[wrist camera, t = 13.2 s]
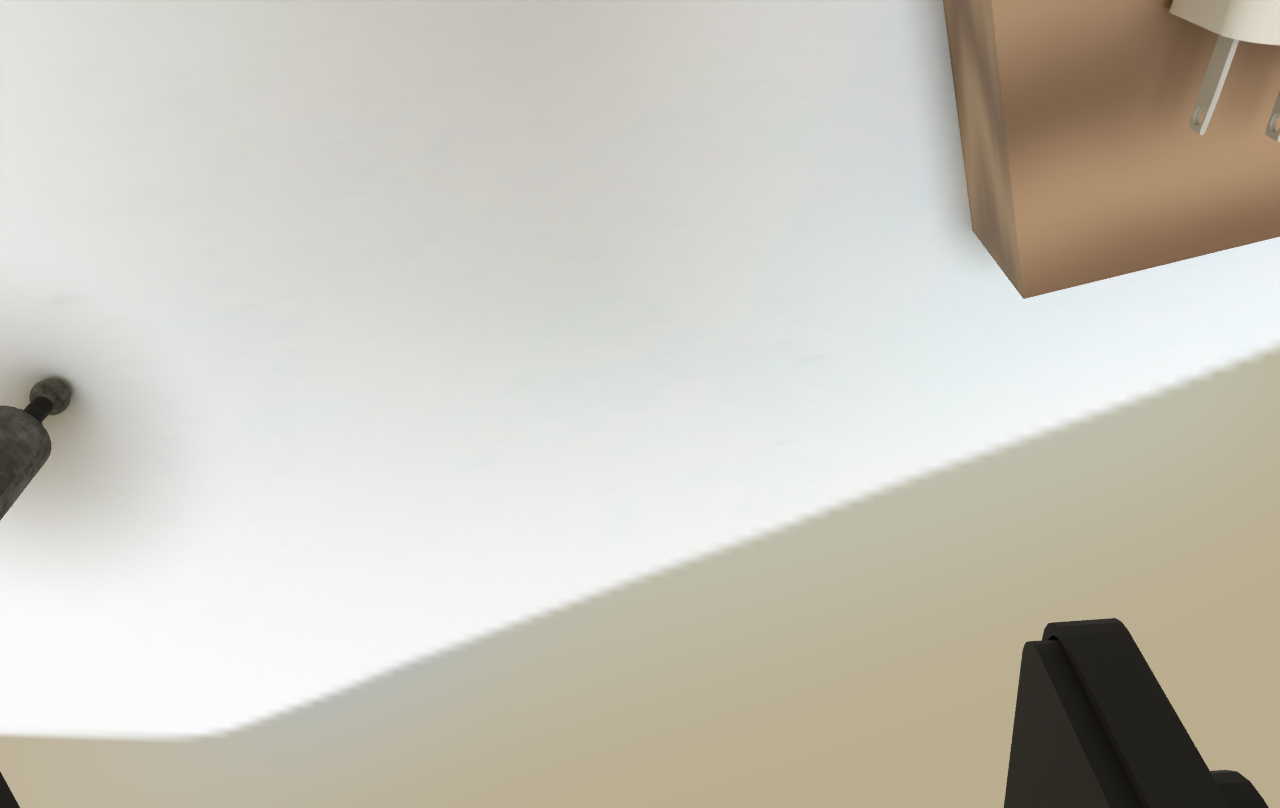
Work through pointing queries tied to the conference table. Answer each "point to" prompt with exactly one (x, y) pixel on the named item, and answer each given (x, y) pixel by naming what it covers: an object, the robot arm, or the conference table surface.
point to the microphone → (27, 439)
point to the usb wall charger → (1230, 45)
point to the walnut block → (1107, 138)
